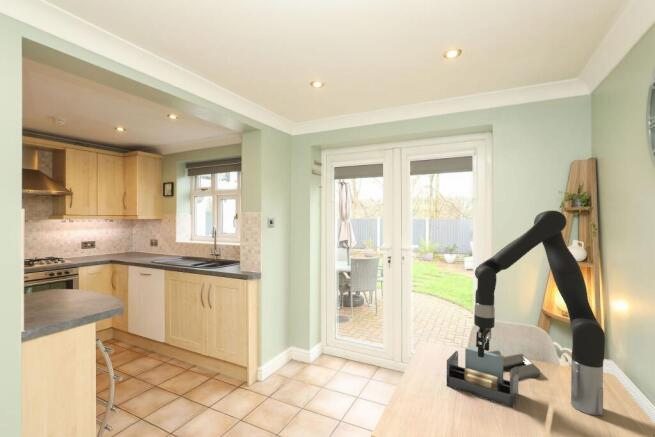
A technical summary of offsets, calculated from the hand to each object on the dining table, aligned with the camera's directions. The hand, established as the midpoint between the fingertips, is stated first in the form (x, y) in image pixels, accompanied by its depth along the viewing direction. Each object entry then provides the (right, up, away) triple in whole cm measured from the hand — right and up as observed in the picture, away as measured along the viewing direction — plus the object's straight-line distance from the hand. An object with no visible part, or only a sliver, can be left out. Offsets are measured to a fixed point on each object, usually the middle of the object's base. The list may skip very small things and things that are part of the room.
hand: (483, 353), depth 133 cm
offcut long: (-3, -14, -4) cm, 14 cm away
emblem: (+19, -16, +19) cm, 31 cm away
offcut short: (-4, -14, -6) cm, 15 cm away
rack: (-2, -15, -3) cm, 15 cm away
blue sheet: (0, -14, 0) cm, 13 cm away
